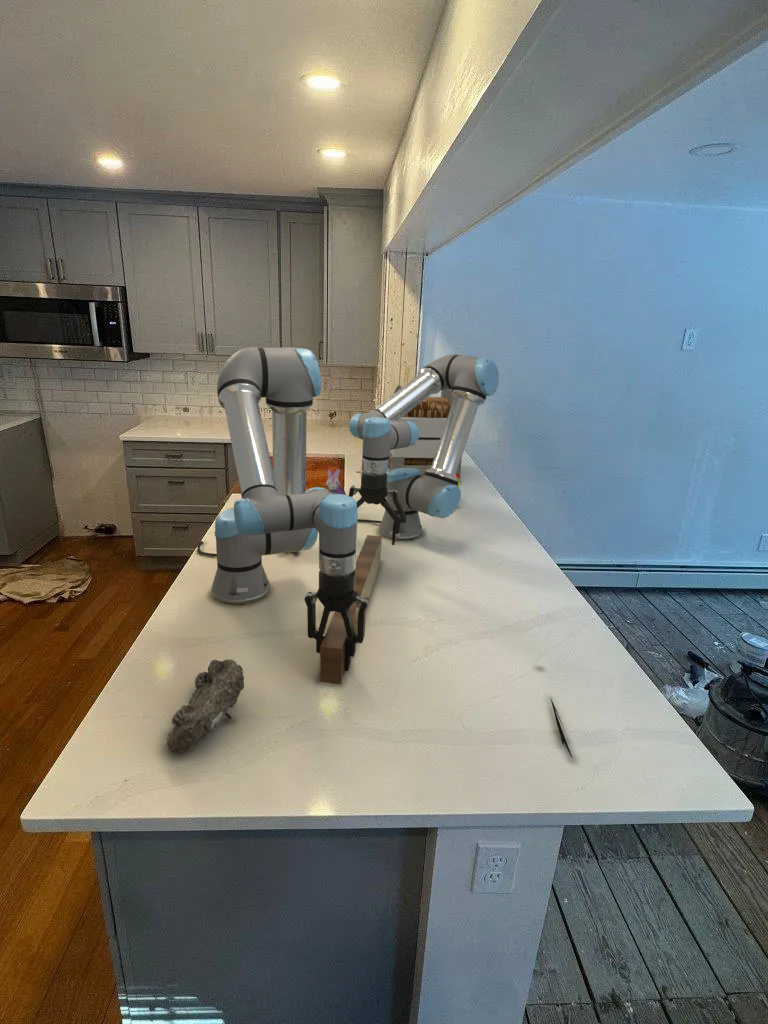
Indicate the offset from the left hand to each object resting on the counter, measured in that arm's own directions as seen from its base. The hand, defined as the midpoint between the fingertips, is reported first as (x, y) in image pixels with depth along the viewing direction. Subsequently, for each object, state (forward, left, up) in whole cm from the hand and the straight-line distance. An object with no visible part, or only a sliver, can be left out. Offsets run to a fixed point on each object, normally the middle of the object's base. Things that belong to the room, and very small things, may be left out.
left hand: (335, 666), depth 124 cm
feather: (+38, +27, -1) cm, 46 cm away
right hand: (-35, +38, +8) cm, 52 cm away
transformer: (-103, +125, -1) cm, 162 cm away
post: (-17, +19, -1) cm, 26 cm away
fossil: (-2, -28, -1) cm, 28 cm away
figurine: (-86, +63, -1) cm, 107 cm away
